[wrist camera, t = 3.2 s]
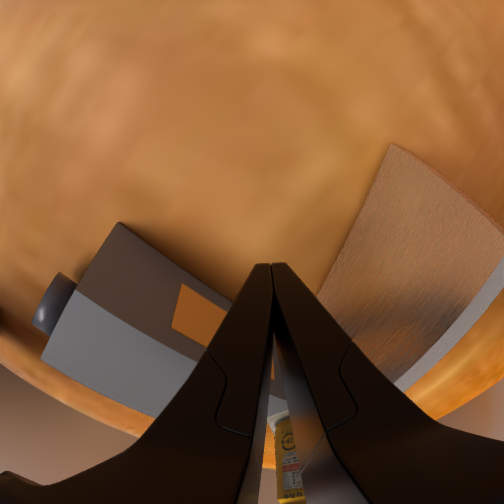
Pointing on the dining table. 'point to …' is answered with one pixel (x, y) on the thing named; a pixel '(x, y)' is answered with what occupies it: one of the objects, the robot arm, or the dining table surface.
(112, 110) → the dining table surface
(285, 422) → the condiment
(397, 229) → the side door
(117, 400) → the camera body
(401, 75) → the dining table surface
